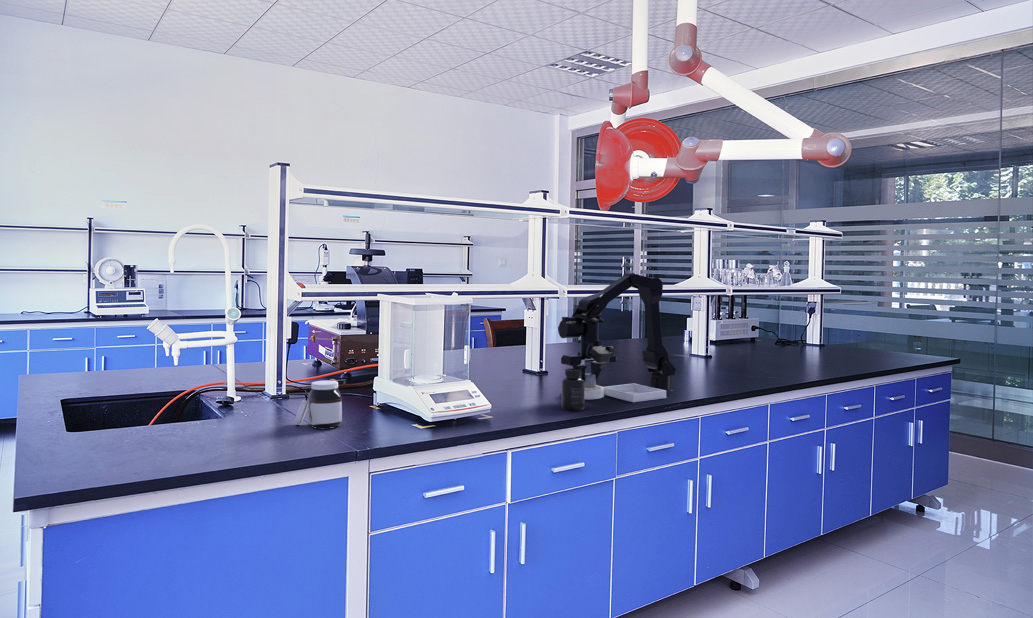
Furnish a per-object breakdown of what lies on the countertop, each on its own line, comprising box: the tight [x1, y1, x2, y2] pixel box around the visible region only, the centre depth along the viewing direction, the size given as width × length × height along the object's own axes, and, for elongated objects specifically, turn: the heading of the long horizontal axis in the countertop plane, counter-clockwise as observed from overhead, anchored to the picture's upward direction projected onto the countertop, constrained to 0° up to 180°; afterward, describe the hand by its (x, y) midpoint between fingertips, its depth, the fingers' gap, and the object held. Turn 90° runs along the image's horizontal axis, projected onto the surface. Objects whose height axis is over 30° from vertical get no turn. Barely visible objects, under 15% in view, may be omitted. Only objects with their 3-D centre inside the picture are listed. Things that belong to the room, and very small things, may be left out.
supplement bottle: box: [561, 368, 585, 412], centre depth 199 cm, size 7×7×12 cm
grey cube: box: [584, 372, 597, 388], centre depth 215 cm, size 4×4×4 cm
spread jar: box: [293, 379, 343, 428], centre depth 174 cm, size 12×11×12 cm
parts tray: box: [602, 383, 667, 403], centre depth 218 cm, size 14×15×3 cm
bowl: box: [584, 384, 605, 400], centre depth 218 cm, size 13×13×3 cm
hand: (588, 384), depth 215 cm, fingers closed on grey cube, 4 cm apart
